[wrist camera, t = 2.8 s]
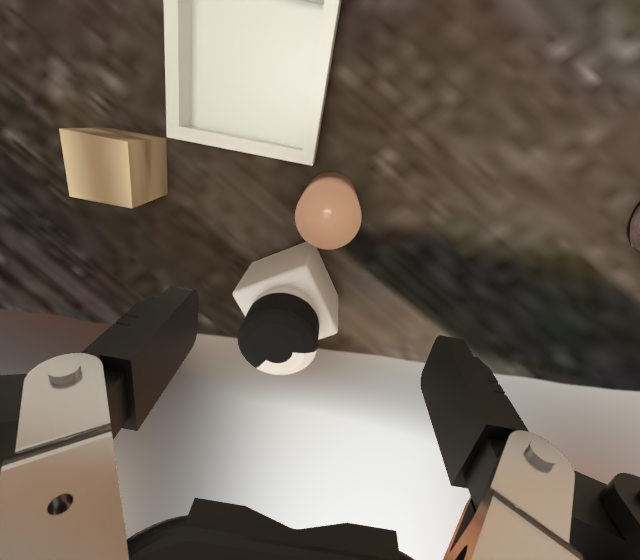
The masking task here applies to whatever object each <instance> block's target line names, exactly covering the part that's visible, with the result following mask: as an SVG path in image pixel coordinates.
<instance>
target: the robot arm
mask: <svg viewBox="0 0 640 560" xmlns="http://www.w3.org/2000/svg"><path fill="white" fill-rule="evenodd" d="M197 322H198V293H197V291H196V290H194V289H189V288H183V287H178V286H171V287H169V288H168V289H167V290H166V291H165V292H164V293H163V294H162V295H161V296H160V297H159V298H153V297H151V298H149V299H147V300H145V301H142V302H140V303H138V304H136V305H135V306H133V307H132V308H131V309H130V310H129V311H128V312H127V313H126V314H125V316H122V317H121V318H120V319H119V320H118V321H116V324H113V325H112V326H111V327H110V328H109V329H107V330H106V331H105V332H104V333H103V334H102V335H101V336H100V337H98V338H97V339H96V340H95V341H94V342H93V343H92V344H90V345H89V346H88V347H87V348H86V349H85V350H84V351H83V352H81V353H71V354H65V355H60V356H57V357H54V358H51V359H49V360H46V361H45V362H42V363H41V364H39V365H37V366H36V367H35V368H33V369H32V370H31V371H30V372H29V373H28V374H19V375H18V374H17V375H0V560H414V559H412V558H411V557H409V556H408V555H406V554H404V553H403V552H400V551H399V550H398V542H397V535H396V531H393V530H387V529H381V528H374V527H369V526H363V525H357V524H350V523H343V524H336V525H330V526H321V527H314V528H307V529H298V530H297V529H292V528H289V527H287V526H285V525H283V524H281V523H279V522H277V521H275V520H273V519H271V518H269V517H266V516H264V515H262V514H260V513H258V512H256V511H254V510H252V509H250V508H248V507H246V506H241V505H235V504H229V503H223V502H217V501H211V500H205V499H198V498H195V499H194V502H193V504H192V507H191V510H190V512H189V514H188V515H187V516H180V517H176V518H172V519H168V520H165V521H162V522H160V523H157V524H154V525H152V526H150V527H148V528H146V529H144V530H142V531H140V532H138V533H136V534H135V535H133V536H131V537H130V538H128V539H127V537H126V530H125V523H124V515H123V509H122V501H121V493H120V486H119V479H118V472H117V464H116V457H115V451H114V442H113V439H114V438H115V436H116V435H117V433H118V432H119V431H120V429H121V428H125V429H130V430H136V431H137V430H138V429H139V428H140V426H141V424H142V423H143V422H144V420H145V418H146V417H147V415H148V414H149V412H150V411H151V409H152V408H153V406H154V405H155V403H156V402H157V400H158V399H159V397H160V396H161V394H162V393H163V391H164V390H165V388H166V387H167V385H168V384H169V382H170V381H171V379H172V378H173V376H174V375H175V373H176V371H177V370H178V368H179V367H180V365H181V364H182V362H183V361H184V359H185V358H186V356H187V355H188V353H189V352H190V350H191V349H192V347H193V345H194V342H195V339H196V335H197ZM421 390H422V393H423V396H424V400H425V403H426V406H427V409H428V412H429V415H430V419H431V422H432V425H433V428H434V432H435V435H436V438H437V441H438V444H439V447H440V451H441V454H442V457H443V461H444V464H445V467H446V470H447V473H448V477H449V480H450V483H451V486H457V487H463V488H468V489H469V491H470V494H471V497H470V499H469V500H468V502H467V504H466V506H465V508H464V511H463V513H462V516H461V518H460V520H459V523H458V525H457V528H456V530H455V532H454V535H453V537H452V539H451V542H450V544H449V547H448V549H447V552H446V554H445V556H444V559H443V560H640V477H637V476H635V475H631V474H627V473H620V474H617V475H616V476H615V477H614V478H613V479H612V480H611V482H609V484H608V485H606V484H604V483H602V482H599V481H597V480H595V479H593V478H590V477H588V476H586V475H583V474H581V473H579V472H576V471H574V470H573V467H572V465H571V464H570V462H569V461H568V459H567V458H566V457H565V456H564V454H563V453H562V452H561V451H560V450H559V449H558V448H556V447H555V446H554V445H553V444H551V443H550V442H549V441H547V440H545V439H544V438H542V437H540V436H538V435H536V434H534V433H531V432H529V431H528V430H527V428H526V426H525V425H524V423H523V421H522V420H521V418H520V417H519V415H518V414H517V412H516V410H515V409H514V407H513V405H512V404H511V402H510V400H509V399H508V397H507V396H506V395H504V393H505V392H504V391H503V389H502V387H501V386H500V385H499V384H498V381H497V380H496V378H495V376H494V375H493V373H492V371H491V370H490V369H489V368H488V367H487V366H486V365H485V364H484V363H483V362H482V361H481V360H480V359H479V358H477V357H474V356H473V354H472V353H471V351H470V349H469V347H468V346H467V344H466V342H465V341H464V340H462V339H457V338H452V337H446V336H438V337H437V338H436V340H435V342H434V344H433V347H432V349H431V352H430V354H429V357H428V359H427V361H426V364H425V367H424V369H423V371H422V376H421Z"/></svg>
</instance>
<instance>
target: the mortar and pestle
mask: <svg viewBox="0 0 640 560" xmlns="http://www.w3.org/2000/svg"><path fill="white" fill-rule="evenodd" d="M630 242H631V247H632V248H635V249H637V250H638V251H640V205H639V206H638V207H637V209H636V211H635V213H634V215H633V217H632V220H631V223H630Z"/></svg>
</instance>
